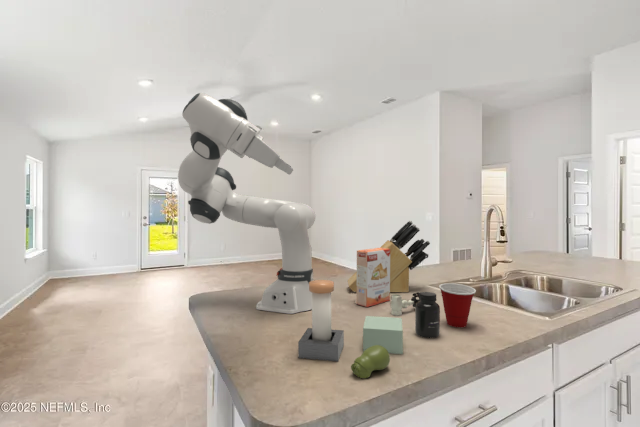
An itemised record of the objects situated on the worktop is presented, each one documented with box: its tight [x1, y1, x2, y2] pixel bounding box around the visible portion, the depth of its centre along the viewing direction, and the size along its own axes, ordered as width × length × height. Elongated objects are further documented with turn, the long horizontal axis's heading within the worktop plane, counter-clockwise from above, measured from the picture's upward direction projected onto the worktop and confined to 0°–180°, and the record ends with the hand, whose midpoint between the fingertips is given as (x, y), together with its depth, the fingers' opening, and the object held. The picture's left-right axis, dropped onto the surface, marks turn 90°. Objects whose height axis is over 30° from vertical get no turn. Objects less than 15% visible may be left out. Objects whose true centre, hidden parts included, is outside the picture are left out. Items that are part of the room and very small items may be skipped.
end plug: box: [309, 279, 335, 341], centre depth 88 cm, size 6×6×18 cm
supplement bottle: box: [414, 291, 441, 339], centre depth 99 cm, size 7×7×12 cm
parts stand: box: [362, 315, 404, 355], centre depth 92 cm, size 10×10×6 cm
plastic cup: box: [438, 282, 477, 329], centre depth 107 cm, size 11×11×12 cm
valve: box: [389, 291, 420, 317], centre depth 120 cm, size 7×7×12 cm
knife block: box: [347, 220, 431, 294], centre depth 151 cm, size 11×35×31 cm, turn 88°
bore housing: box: [297, 327, 345, 362], centre depth 89 cm, size 10×10×4 cm
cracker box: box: [356, 247, 391, 308], centre depth 132 cm, size 14×6×21 cm, turn 131°
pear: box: [350, 345, 391, 379], centre depth 78 cm, size 6×5×10 cm
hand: (290, 170), depth 90 cm, fingers open, 8 cm apart
